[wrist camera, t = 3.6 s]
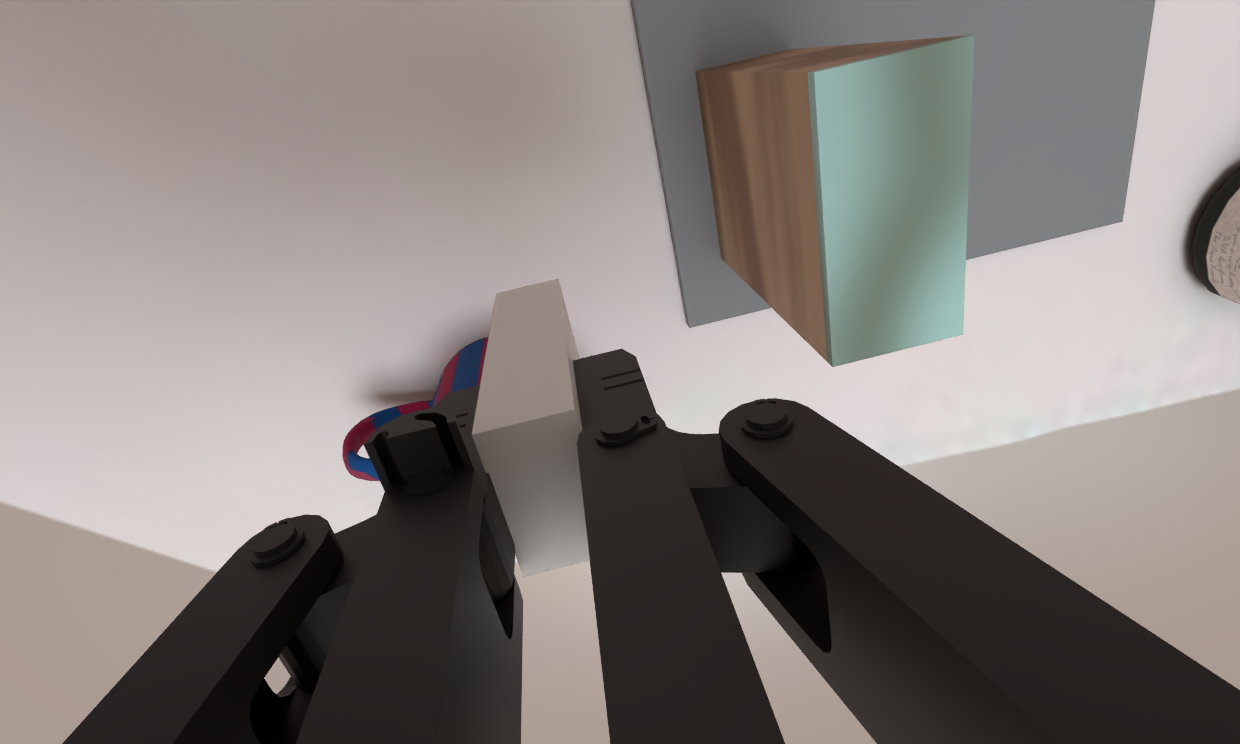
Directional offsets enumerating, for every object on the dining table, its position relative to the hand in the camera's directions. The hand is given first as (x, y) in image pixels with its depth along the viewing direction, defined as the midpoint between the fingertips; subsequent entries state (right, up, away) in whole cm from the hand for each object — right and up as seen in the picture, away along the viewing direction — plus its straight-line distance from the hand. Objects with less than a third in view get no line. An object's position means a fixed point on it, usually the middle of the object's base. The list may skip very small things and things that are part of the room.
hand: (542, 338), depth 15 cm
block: (+8, +8, +12) cm, 17 cm away
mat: (+14, +10, +13) cm, 22 cm away
